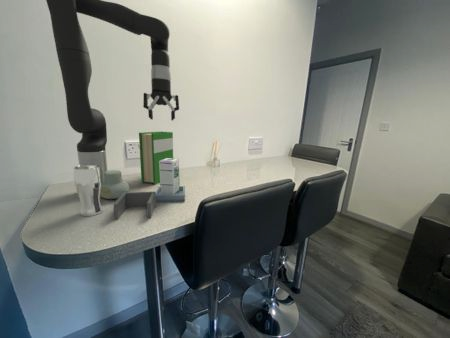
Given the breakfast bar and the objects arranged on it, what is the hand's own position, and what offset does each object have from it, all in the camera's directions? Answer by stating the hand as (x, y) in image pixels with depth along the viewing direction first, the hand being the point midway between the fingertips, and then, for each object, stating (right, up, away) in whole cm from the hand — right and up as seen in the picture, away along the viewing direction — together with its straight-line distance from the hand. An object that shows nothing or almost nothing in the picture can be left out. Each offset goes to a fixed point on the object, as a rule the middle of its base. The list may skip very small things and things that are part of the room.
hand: (162, 119), depth 86 cm
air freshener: (-16, -32, -7) cm, 37 cm away
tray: (+5, -32, -5) cm, 33 cm away
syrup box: (+5, -32, -5) cm, 32 cm away
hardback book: (-8, -27, +19) cm, 33 cm away
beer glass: (-16, -35, -21) cm, 44 cm away
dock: (-2, -35, -19) cm, 40 cm away
